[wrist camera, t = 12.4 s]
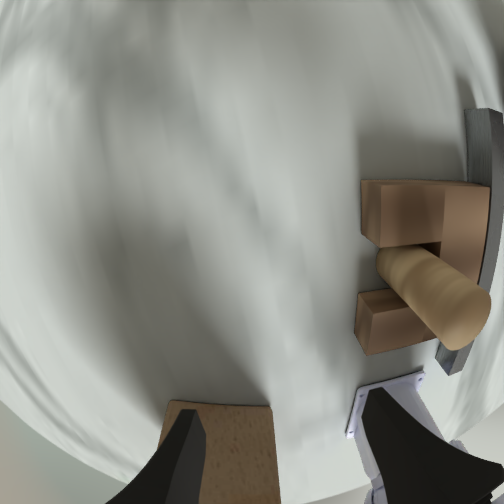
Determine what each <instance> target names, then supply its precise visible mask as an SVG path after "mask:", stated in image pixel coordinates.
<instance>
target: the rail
mask: <svg viewBox="0 0 504 504" xmlns="http://www.w3.org/2000/svg"><path fill="white" fill-rule="evenodd" d="M464 112H465V121H466V132H467V150H468V182H470V183H474V184H478V185H482V186H486V187H490V194H489V209H488V220H487V229H486V237H485V244H484V250H483V256H482V262H481V267H480V272H479V277H478V281H477V285H479V286H480V287H481V288H483V289H484V290H485V291H487V292H488V293H489V292H490V288H491V284H492V280H493V276H494V271H495V267H496V262H497V256H498V251H499V245H500V238H501V231H502V223H503V214H504V124H503V114H502V113H501V112H498V111H495V110H493V109H490V108H482V109H468V110H464ZM474 340H475V339H474ZM474 340H473V341H472V342H470V343H469V344H468V345H466V346H465V347H463V348H461V349H458V350H449V349H447V348H446V347H445V346H444V345H443V343H442V342H441V343H440V346H439V349H438V352H437V355H436V358H435V359H436V360H437V361H438V363H439V364H440V365H441V367H442V368H443V369H444V371H445V372H446V373H447V375H448V376H449V375H452V374H454V373H457V372H459V371H461V370H462V369H463V367H464V365H465V362H466V360H467V357H468V355H469V353H470V350H471V348H472V345H473V342H474Z"/></svg>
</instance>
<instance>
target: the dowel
mask: <svg viewBox="0 0 504 504" xmlns="http://www.w3.org/2000/svg"><path fill="white" fill-rule="evenodd" d="M376 268H377V272H378V274H379V275H380V276H381V277H382V278H383V279H384V280H385V281H386V282H387V283H388V285H389V286H390V287H391V288H392V289H393V290H394V291H395V292H396V293H397V294H398V295H399V296H400V297H401V298H402V299H403V300H404V301H405V302H406V303H407V304H408V305H409V307H410V308H411V309H412V310H413V311H414V312H415V313H416V314H417V315H418V316H419V317H420V318H421V320H422V321H423V322H424V323H425V324H426V325H427V326H428V327H429V329H430V330H431V331H432V332H433V333H434V334H435V335H436V336H437V338H438V339H439V340H440V341H441V342H442V343H443V345H444V346H445V347H446V348H447V349H449V350H458V349H461V348H463V347H465V346H466V345H468V344H469V343H470V342H472V341H473V340H474V339H475V338H476V337H477V335H478V334H479V333H480V332H481V330H482V329H483V327H484V325H485V323H486V321H487V319H488V317H489V314H490V310H491V297H490V295H489V293H488V292H487V291H485V290H484V289H483V288H481V287H480V286H479V285H477V284H476V283H474V282H473V281H472V280H470V279H469V278H467V277H466V276H465V275H463V274H462V273H460V272H459V271H457V270H456V269H454V268H453V267H452V266H450V265H449V264H447V263H446V262H444V261H443V260H441V259H440V258H438V257H436V256H435V255H433V254H432V253H430V252H429V251H427V250H426V249H424V248H422V247H421V246H419V245H418V244H411V245H402V246H392V247H383V248H380V250H379V252H378V255H377V258H376Z"/></svg>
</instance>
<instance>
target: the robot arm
mask: <svg viewBox="0 0 504 504" xmlns="http://www.w3.org/2000/svg"><path fill="white" fill-rule="evenodd" d="M424 376H425V372H424V371H419V372H416V373H413V374H409V375H406V376H403V377H399V378H396V379H392V380H388V381H385V382H381V383H377V384H373V385H368V386H364V387H361V388H359V389H358V390H357V393H356V397H355V402H354V406H353V410H352V413H351V417H350V421H349V425H348V428H347V432H346V438H353V437H354V438H355V441H356V444H357V447H358V451H359V454H360V457H361V460H362V463H363V467H364V470H365V472H366V474H367V476H368V477H369V478H370V479H371V483H372V486H373V488H372V489H370V490H369V491H368V493H367V496H366V499H365V502H364V504H504V494H502V495H501V496H500V497H498V498H497V499H496V500H494V501H493V502H491V501H490V499H491V498H492V497H493V496H492V494H491V492H492V491H493V490H494V489H496V488H497V487H498V486H499V485H501V484H502V483H503V482H504V468H503V466H502V465H501V464H499V463H495V462H491V461H487V460H484V459H481V458H478V457H475V456H472V455H470V454H469V453H468V452H467V450H466V448H465V447H464V445H463V443H462V442H461V441H459V440H456V441H455V440H451V441H450V442H449V443H447V442H446V441H445V440H444V438H443V436H442V434H441V432H440V431H439V429H438V427H437V425H436V423H435V422H434V420H433V418H432V416H431V415H430V413H429V411H428V409H427V408H426V406H425V404H424V403H423V401H422V399H421V397H420V396H419V394H418V391H419V389H420V386H421V384H422V381H423V379H424ZM205 456H206V433H205V430H204V428H203V425H202V423H201V420H200V418H199V415H198V413H197V410H196V409H181V410H180V412H179V414H178V416H177V418H176V420H175V421H174V423H173V425H172V427H171V429H170V430H169V432H168V434H167V435H166V437H165V438H164V440H163V442H162V443H161V445H160V446H159V448H158V449H157V451H156V452H155V453H154V455H153V456H152V457H151V459H150V460H149V462H148V463H147V464H146V465H145V467H144V468H143V469H142V470H141V471H140V473H139V474H138V475H137V476H136V477H135V478H134V479H133V480H132V481H131V482H130V483H129V484H128V485H127V486H126V487H125V488H124V489H123V490H122V491H121V492H120V493H118V494H117V495H116V496H115V497H113V498H112V499H111V500H109V501H108V502H107V503H106V504H199V494H200V488H201V482H202V476H203V469H204V463H205Z"/></svg>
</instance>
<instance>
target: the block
mask: <svg viewBox="0 0 504 504" xmlns="http://www.w3.org/2000/svg"><path fill="white" fill-rule="evenodd" d="M489 194H490V187H486V186H482V185H478V184H474V183H470V182H466V181H446V180H361V197H362V225H361V234H362V235H364V236H365V237H366V238H368V239H369V240H370V241H371V242H373V243H374V244H375V245H377V246H378V247H379V248H383V247H392V246H402V245H411V244H418V245H419V246H421V247H422V248H424V249H426V250H427V251H429V252H430V253H432V254H433V255H435V256H436V257H438V258H440V259H441V260H443V261H444V262H446V263H447V264H449V265H450V266H452V267H453V268H454V269H456V270H457V271H459V272H460V273H462V274H463V275H465V276H466V277H467V278H469V279H470V280H472V281H473V282H474V283H476V284H477V281H478V277H479V272H480V267H481V262H482V256H483V250H484V244H485V237H486V229H487V220H488V209H489ZM354 334H355V335H356V337H357V339H358V341H359V343H360V345H361V346H362V348H363V350H364V352H365V354H366V356H368V355H372V354H377V353H381V352H386V351H390V350H394V349H398V348H402V347H406V346H410V345H413V344H417V343H421V342H424V341H428V340H431V339H434V338H437V336H436V335H435V334H434V333H433V332H432V331H431V330H430V329H429V327H428V326H427V325H426V324H425V323H424V322H423V321H422V320H421V318H420V317H419V316H418V315H417V314H416V313H415V312H414V311H413V310H412V309H411V308H410V307H409V305H408V304H407V303H406V302H405V301H404V300H403V299H402V298H401V297H400V296H399V295H398V294H397V293H396V292H395V291H394V290H393V289H392V288H389V289H383V290H376V291H370V292H363V293H358V302H357V312H356V321H355V330H354Z"/></svg>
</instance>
